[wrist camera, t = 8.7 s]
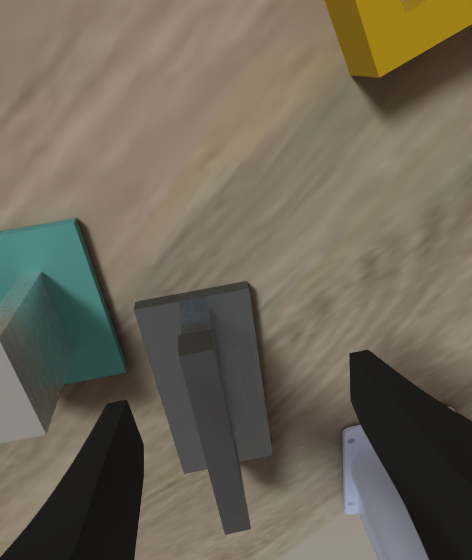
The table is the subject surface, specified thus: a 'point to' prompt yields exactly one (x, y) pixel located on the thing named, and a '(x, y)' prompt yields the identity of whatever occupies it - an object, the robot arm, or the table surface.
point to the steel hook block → (30, 358)
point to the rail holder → (210, 386)
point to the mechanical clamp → (393, 30)
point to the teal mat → (66, 292)
